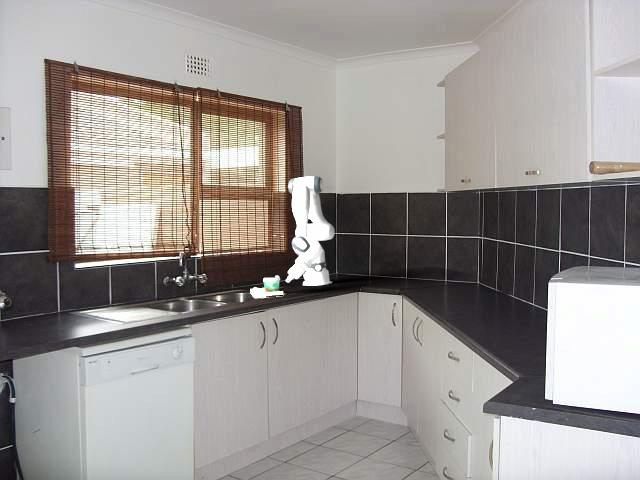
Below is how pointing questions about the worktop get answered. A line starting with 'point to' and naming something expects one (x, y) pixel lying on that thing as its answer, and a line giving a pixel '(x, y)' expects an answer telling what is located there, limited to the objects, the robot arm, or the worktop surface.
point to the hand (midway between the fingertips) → (286, 281)
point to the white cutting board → (263, 293)
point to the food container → (271, 284)
